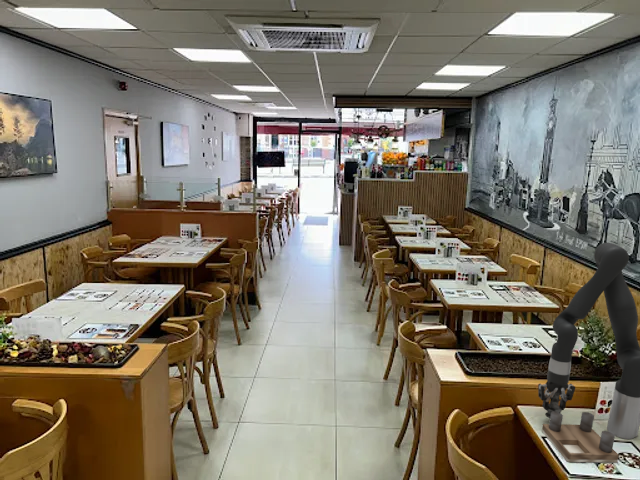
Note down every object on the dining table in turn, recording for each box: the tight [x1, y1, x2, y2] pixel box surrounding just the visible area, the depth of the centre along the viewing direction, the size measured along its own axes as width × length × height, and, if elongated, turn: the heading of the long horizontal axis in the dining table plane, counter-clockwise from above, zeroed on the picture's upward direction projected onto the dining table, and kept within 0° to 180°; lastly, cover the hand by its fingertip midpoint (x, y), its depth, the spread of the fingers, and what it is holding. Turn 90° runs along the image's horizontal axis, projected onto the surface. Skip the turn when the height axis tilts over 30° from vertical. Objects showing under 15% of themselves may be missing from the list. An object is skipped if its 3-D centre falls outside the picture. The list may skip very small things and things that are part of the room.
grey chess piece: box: [545, 393, 563, 419], centre depth 191 cm, size 6×6×12 cm
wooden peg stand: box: [541, 411, 620, 464], centre depth 177 cm, size 18×18×9 cm
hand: (553, 409), depth 191 cm, fingers closed on grey chess piece, 6 cm apart
